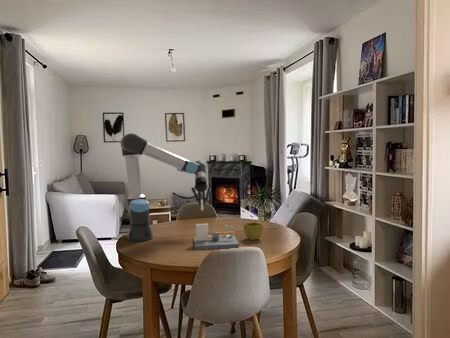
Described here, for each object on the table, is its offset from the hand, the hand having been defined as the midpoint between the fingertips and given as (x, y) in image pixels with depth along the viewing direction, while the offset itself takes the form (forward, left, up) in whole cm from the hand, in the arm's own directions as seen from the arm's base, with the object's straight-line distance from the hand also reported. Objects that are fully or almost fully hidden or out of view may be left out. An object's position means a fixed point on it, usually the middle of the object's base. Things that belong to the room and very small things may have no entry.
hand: (202, 209), depth 223 cm
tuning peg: (+7, -18, -14) cm, 24 cm away
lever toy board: (+7, -18, -17) cm, 26 cm away
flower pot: (+30, -11, -17) cm, 36 cm away
